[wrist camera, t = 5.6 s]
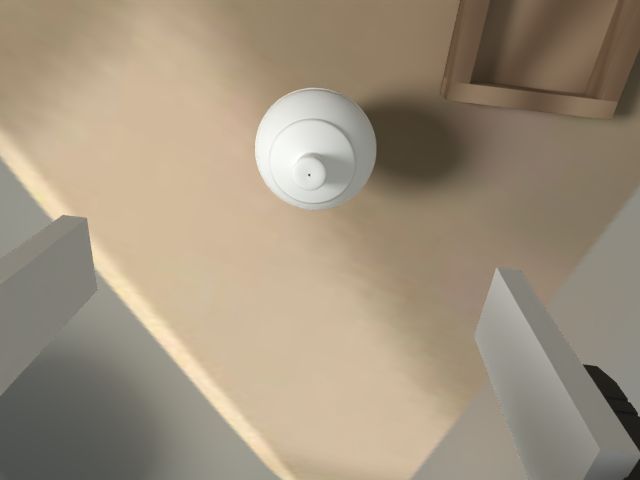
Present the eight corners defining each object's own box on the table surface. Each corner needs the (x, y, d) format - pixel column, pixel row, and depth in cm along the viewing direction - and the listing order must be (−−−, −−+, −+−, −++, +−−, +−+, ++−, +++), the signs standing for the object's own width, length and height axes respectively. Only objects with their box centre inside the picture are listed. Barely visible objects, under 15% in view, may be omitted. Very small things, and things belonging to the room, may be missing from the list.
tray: (439, 93, 33) (447, 100, 31) (480, -91, 28) (493, -102, 25) (590, 111, 33) (611, 120, 30) (658, -70, 28) (690, -79, 25)
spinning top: (377, 164, 36) (388, 228, 25) (285, 179, 37) (258, 246, 26) (364, 64, 33) (370, 89, 22) (263, 83, 34) (222, 116, 23)
